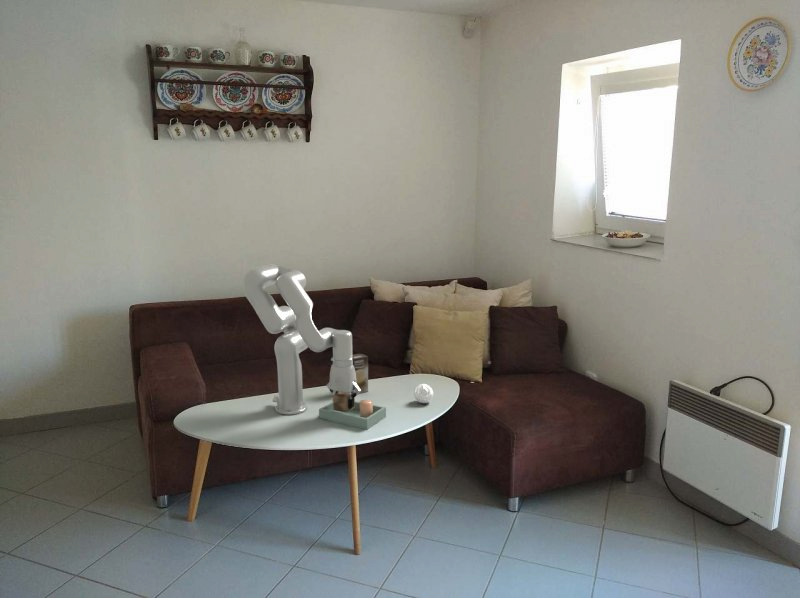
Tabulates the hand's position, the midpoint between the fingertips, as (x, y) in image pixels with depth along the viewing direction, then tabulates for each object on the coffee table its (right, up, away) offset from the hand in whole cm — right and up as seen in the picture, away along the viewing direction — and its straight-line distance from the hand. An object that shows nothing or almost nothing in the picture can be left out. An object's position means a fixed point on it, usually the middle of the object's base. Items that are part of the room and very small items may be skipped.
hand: (344, 405), depth 246 cm
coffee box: (+3, +1, +28) cm, 29 cm away
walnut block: (0, -1, 0) cm, 1 cm away
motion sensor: (+32, -1, +15) cm, 35 cm away
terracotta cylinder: (+9, -4, -4) cm, 11 cm away
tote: (+3, -5, -1) cm, 6 cm away
